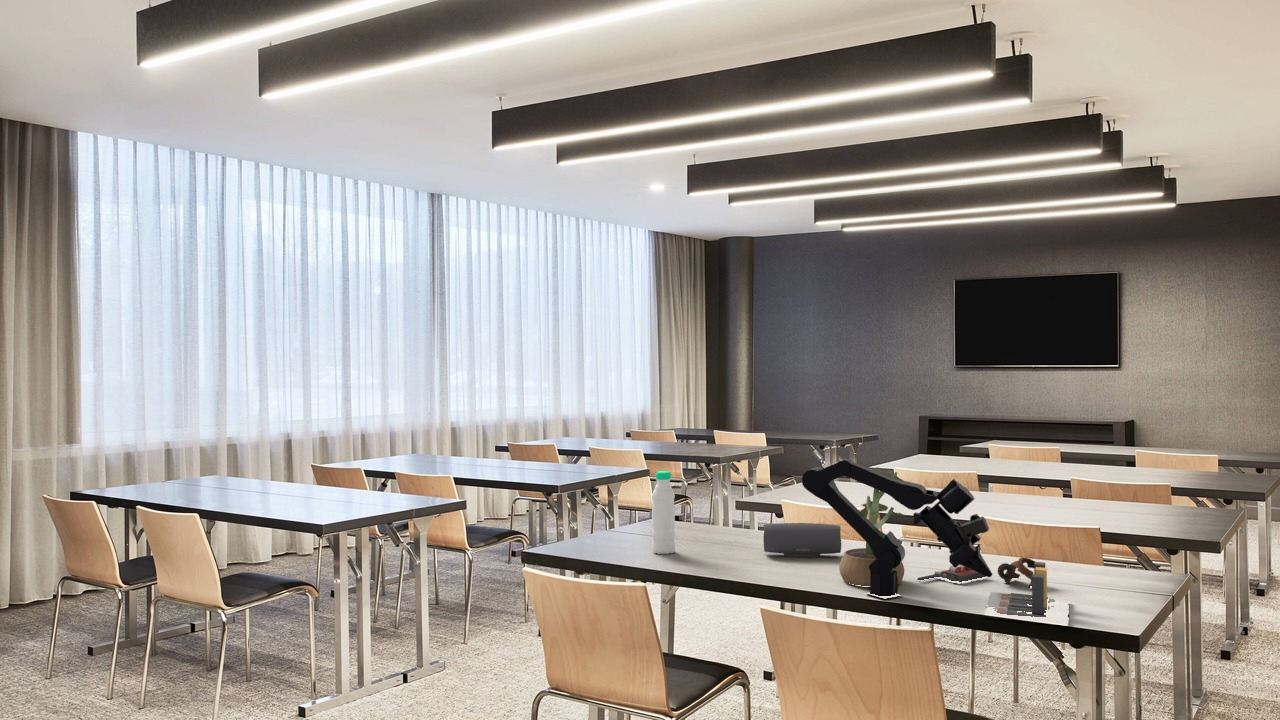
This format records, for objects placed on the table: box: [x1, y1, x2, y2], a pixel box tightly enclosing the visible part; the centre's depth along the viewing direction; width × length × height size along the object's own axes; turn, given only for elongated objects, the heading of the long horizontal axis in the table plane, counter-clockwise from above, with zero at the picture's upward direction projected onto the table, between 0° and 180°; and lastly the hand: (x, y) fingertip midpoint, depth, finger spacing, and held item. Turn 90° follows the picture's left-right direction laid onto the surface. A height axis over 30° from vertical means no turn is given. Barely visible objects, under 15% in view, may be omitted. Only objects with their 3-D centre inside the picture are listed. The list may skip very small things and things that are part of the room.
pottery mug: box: [997, 556, 1036, 587], centre depth 245 cm, size 12×9×8 cm
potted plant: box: [838, 466, 907, 586], centre depth 252 cm, size 22×18×30 cm
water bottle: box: [651, 470, 676, 555], centre depth 289 cm, size 7×7×25 cm
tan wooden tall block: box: [1035, 567, 1048, 608], centre depth 220 cm, size 2×3×9 cm
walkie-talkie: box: [916, 565, 987, 582], centre depth 251 cm, size 9×4×20 cm
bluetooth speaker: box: [763, 522, 842, 558], centre depth 283 cm, size 23×9×10 cm, turn 84°
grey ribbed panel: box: [985, 561, 1055, 617], centre depth 221 cm, size 18×22×10 cm
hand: (991, 576), depth 224 cm, fingers closed
